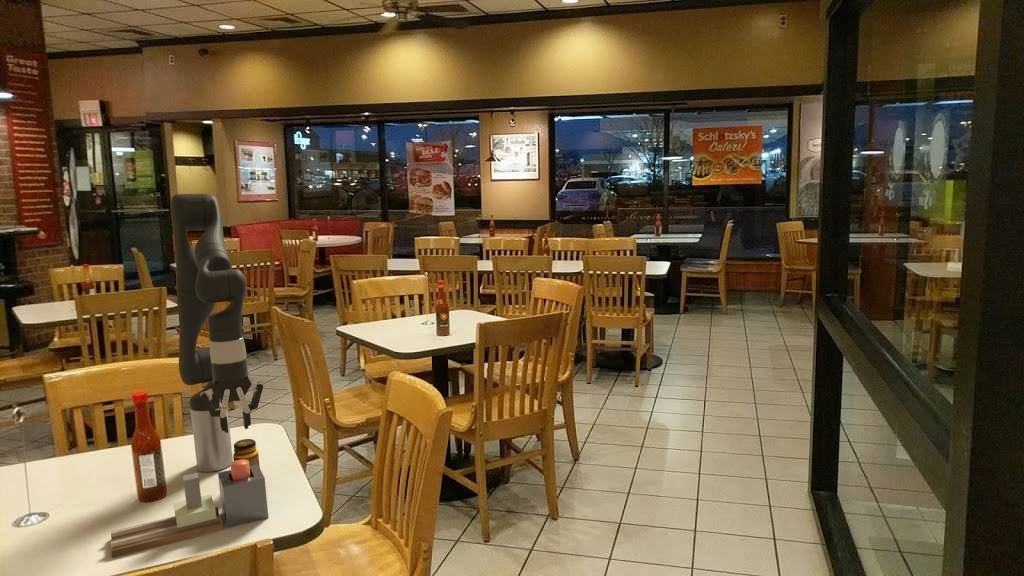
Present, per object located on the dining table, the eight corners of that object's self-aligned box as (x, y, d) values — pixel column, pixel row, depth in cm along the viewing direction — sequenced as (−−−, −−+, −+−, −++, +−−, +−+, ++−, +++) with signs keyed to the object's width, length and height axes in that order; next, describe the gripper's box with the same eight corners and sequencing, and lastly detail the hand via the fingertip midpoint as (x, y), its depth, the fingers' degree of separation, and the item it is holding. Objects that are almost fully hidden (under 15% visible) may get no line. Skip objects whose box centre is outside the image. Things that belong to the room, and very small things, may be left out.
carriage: (174, 513, 164) (170, 474, 162) (212, 504, 167) (207, 466, 166) (177, 527, 157) (172, 487, 155) (216, 518, 161) (211, 478, 159)
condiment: (266, 487, 182) (261, 443, 180) (231, 496, 177) (226, 451, 175) (258, 477, 188) (254, 434, 186) (224, 486, 183) (220, 442, 181)
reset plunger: (231, 486, 167) (229, 462, 166) (249, 481, 169) (247, 458, 168) (234, 492, 164) (231, 468, 163) (252, 488, 166) (250, 464, 165)
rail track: (112, 539, 158) (110, 528, 158) (217, 513, 169) (216, 503, 168) (112, 557, 151) (110, 546, 150) (222, 529, 161) (221, 519, 161)
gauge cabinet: (222, 512, 169) (217, 472, 168) (261, 502, 174) (257, 464, 172) (227, 528, 162) (223, 487, 160) (268, 517, 166) (264, 477, 164)
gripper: (258, 349, 168) (265, 419, 171) (193, 359, 161) (201, 431, 164) (264, 356, 161) (271, 428, 164) (196, 366, 154) (204, 441, 157)
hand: (236, 429), depth 164 cm, fingers open, 3 cm apart
